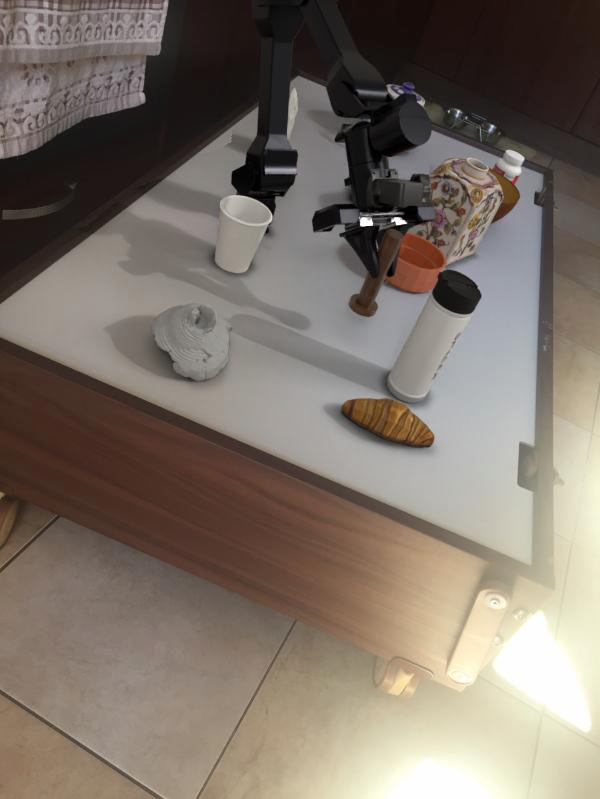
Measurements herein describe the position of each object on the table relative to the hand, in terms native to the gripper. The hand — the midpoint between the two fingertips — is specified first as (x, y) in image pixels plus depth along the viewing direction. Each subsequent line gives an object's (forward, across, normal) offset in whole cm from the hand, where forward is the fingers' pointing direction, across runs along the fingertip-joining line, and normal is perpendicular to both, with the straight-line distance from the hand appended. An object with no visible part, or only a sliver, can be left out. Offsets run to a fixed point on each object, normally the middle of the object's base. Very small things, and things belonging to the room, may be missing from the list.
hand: (383, 277), depth 104 cm
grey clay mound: (+7, -26, +12) cm, 30 cm away
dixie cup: (-7, -10, +26) cm, 28 cm away
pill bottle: (-19, +71, +38) cm, 83 cm away
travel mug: (+17, +3, +2) cm, 17 cm away
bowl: (-13, +52, +32) cm, 62 cm away
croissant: (+21, -6, -2) cm, 22 cm away
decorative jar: (-7, +39, +26) cm, 47 cm away
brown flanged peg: (+4, 0, +6) cm, 7 cm away
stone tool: (-31, +19, +50) cm, 62 cm away
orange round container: (-2, +23, +20) cm, 31 cm away
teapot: (-37, +56, +56) cm, 87 cm away
